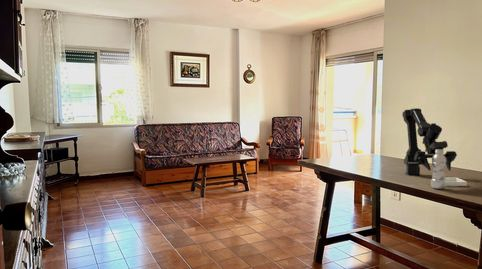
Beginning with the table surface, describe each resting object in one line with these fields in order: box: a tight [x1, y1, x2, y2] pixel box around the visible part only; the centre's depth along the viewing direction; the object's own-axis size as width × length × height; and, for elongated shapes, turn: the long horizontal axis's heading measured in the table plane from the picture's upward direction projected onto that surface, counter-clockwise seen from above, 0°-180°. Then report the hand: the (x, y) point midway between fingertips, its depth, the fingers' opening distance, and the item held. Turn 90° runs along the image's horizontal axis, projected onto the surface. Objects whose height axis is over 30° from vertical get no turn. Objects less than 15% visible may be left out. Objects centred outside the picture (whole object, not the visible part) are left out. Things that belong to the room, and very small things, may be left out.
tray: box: [445, 176, 468, 188], centre depth 183 cm, size 12×11×2 cm
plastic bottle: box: [430, 149, 447, 190], centre depth 174 cm, size 6×7×20 cm
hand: (439, 170), depth 172 cm, fingers open, 9 cm apart
